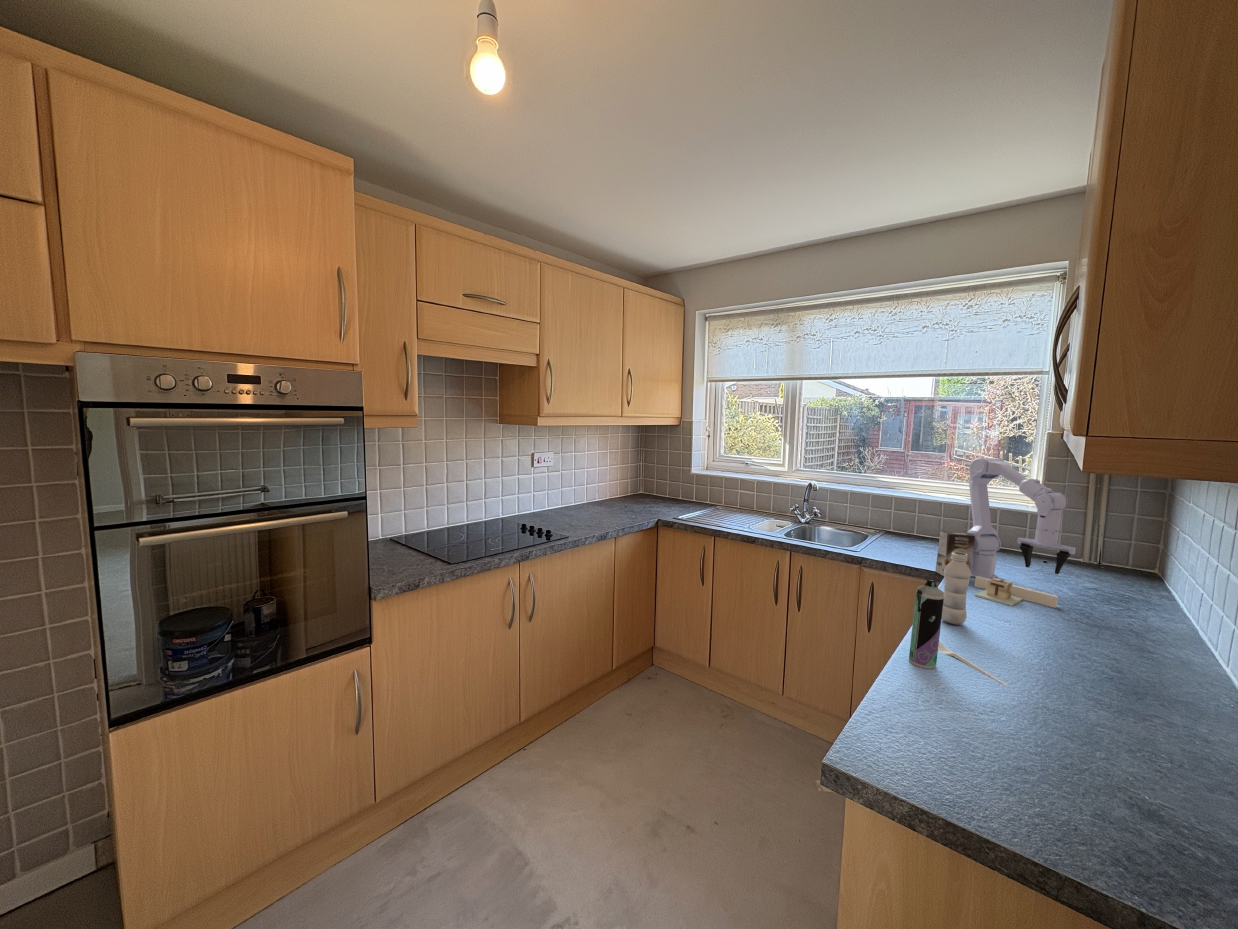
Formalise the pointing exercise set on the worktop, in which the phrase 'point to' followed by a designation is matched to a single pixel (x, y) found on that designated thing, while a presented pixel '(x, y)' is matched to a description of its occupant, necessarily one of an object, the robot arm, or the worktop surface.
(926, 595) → the spray can
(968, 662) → the fork
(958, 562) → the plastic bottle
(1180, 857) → the worktop surface
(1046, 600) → the cream board
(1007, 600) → the pad
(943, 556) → the coffee box
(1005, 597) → the lettered cube
